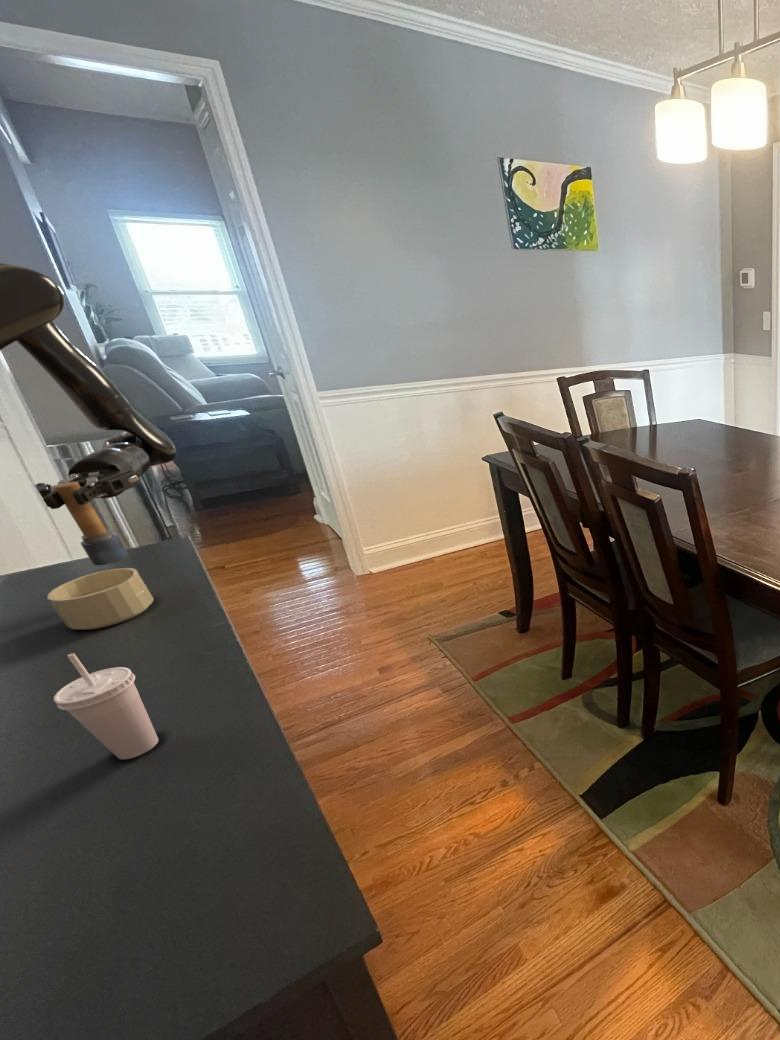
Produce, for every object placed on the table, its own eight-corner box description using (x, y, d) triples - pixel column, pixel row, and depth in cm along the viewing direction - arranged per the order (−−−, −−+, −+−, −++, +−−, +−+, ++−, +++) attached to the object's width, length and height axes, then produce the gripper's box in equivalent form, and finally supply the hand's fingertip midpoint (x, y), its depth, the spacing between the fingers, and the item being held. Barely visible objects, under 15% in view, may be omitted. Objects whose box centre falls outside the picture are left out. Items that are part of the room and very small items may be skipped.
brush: (86, 566, 102) (38, 490, 96) (105, 555, 106) (60, 481, 100) (117, 563, 103) (71, 487, 97) (135, 552, 107) (92, 478, 101)
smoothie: (103, 777, 67) (27, 679, 61) (99, 750, 71) (28, 655, 64) (176, 745, 71) (113, 650, 65) (169, 721, 75) (108, 629, 69)
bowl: (50, 636, 94) (27, 604, 91) (100, 602, 103) (81, 572, 101) (127, 626, 96) (107, 594, 93) (169, 594, 105) (152, 564, 102)
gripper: (45, 459, 106) (-10, 487, 92) (145, 446, 112) (108, 471, 98) (69, 498, 110) (20, 531, 96) (165, 483, 115) (132, 513, 101)
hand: (65, 501), depth 97 cm, fingers closed on brush, 3 cm apart
